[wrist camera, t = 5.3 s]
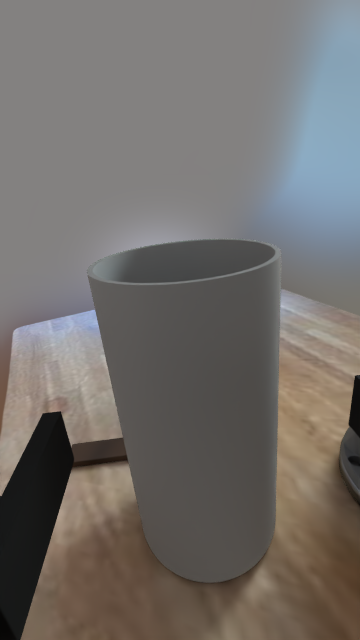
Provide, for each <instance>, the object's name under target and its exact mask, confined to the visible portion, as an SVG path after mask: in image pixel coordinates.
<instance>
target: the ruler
mask: <svg viewBox="0 0 360 640" xmlns="http://www.w3.org/2000/svg"><path fill="white" fill-rule="evenodd" d="M71 449H72V452H73V455H74V463H73V466H72V467H77V466H85V465H92V464H100V463H108V462H115V461H123V460H128V458H127V453H126V448H125V444H124V439H123V438H117V439H109V440H102V441H94V442H86V443H78V444H73V445H72V448H71Z"/></svg>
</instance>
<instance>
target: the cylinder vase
mask: <svg viewBox="0 0 360 640" xmlns="http://www.w3.org/2000/svg"><path fill="white" fill-rule="evenodd" d="M87 274H88V278H89V283H90V288H91V292H92V297H93V302H94V306H95V311H96V315H97V320H98V324H99V329H100V334H101V338H102V343H103V347H104V352H105V357H106V361H107V366H108V370H109V375H110V380H111V384H112V389H113V393H114V398H115V403H116V407H117V412H118V416H119V421H120V425H121V430H122V435H123V439H124V444H125V448H126V453H127V458H128V462H129V467H130V471H131V476H132V481H133V485H134V490H135V494H136V499H137V504H138V508H139V513H140V517H141V522H142V527H143V531H144V535H145V538H146V541H147V543H148V545H149V547H150V549H151V551H152V552H153V554H154V555H155V556H156V558H157V559H158V560H159V561H160V562H161V563H162V564H163V565H164V566H165V567H166V568H168V569H169V570H170V571H172V572H174V573H175V574H177V575H179V576H181V577H183V578H186V579H189V580H192V581H197V582H205V583H215V582H222V581H227V580H230V579H233V578H236V577H238V576H240V575H242V574H244V573H245V572H247V571H248V570H250V569H251V568H252V567H253V566H255V565H256V564H257V563H258V562H259V560H260V559H261V558H262V557H263V555H264V554H265V552H266V551H267V549H268V547H269V545H270V543H271V540H272V537H273V534H274V529H275V518H276V473H277V427H278V382H279V336H280V291H281V250H280V249H279V248H278V247H276V246H275V245H272V244H269V243H265V242H261V241H254V240H243V239H203V240H188V241H179V242H171V243H163V244H156V245H151V246H145V247H140V248H136V249H131V250H128V251H123V252H120V253H116V254H113V255H111V256H108V257H105V258H103V259H100V260H98V261H97V262H95V263H93V264H92V265H91V266H90V267H89V268H88V269H87Z"/></svg>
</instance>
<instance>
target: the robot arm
mask: <svg viewBox="0 0 360 640" xmlns="http://www.w3.org/2000/svg"><path fill="white" fill-rule="evenodd" d="M349 426H350V427H349V428H348V430H347V431H346V433H345V435H344V437H343V439H342V442H341V447H340V455H339V467H340V472H341V475H342V478H343V480H344V482H345V485H346V486H347V488H348V490H349V492H350V493H351V494H352V496H353V497H354V499H355V500H356V501H357V502H358V503H359V505H360V375H357V376H355V380H354V388H353V395H352V403H351V410H350V418H349ZM73 463H74V455H73V452H72V449H71V445H70V442H69V438H68V435H67V431H66V428H65V424H64V421H63V418H62V414H61V411H59V412H51V413H43V414H42V416H41V418H40V420H39V422H38V424H37V426H36V428H35V430H34V432H33V434H32V436H31V438H30V440H29V442H28V444H27V446H26V448H25V450H24V452H23V454H22V456H21V458H20V460H19V462H18V464H17V466H16V468H15V470H14V472H13V474H12V476H11V478H10V480H9V482H8V484H7V486H6V488H5V490H4V492H3V494H2V496H0V640H20V639H21V636H22V633H23V629H24V626H25V623H26V619H27V616H28V613H29V609H30V606H31V603H32V599H33V596H34V593H35V589H36V586H37V583H38V579H39V576H40V573H41V569H42V566H43V563H44V559H45V556H46V553H47V549H48V546H49V543H50V539H51V536H52V533H53V529H54V526H55V523H56V519H57V516H58V513H59V509H60V506H61V503H62V499H63V496H64V493H65V489H66V486H67V483H68V479H69V476H70V473H71V469H72V466H73Z"/></svg>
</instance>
